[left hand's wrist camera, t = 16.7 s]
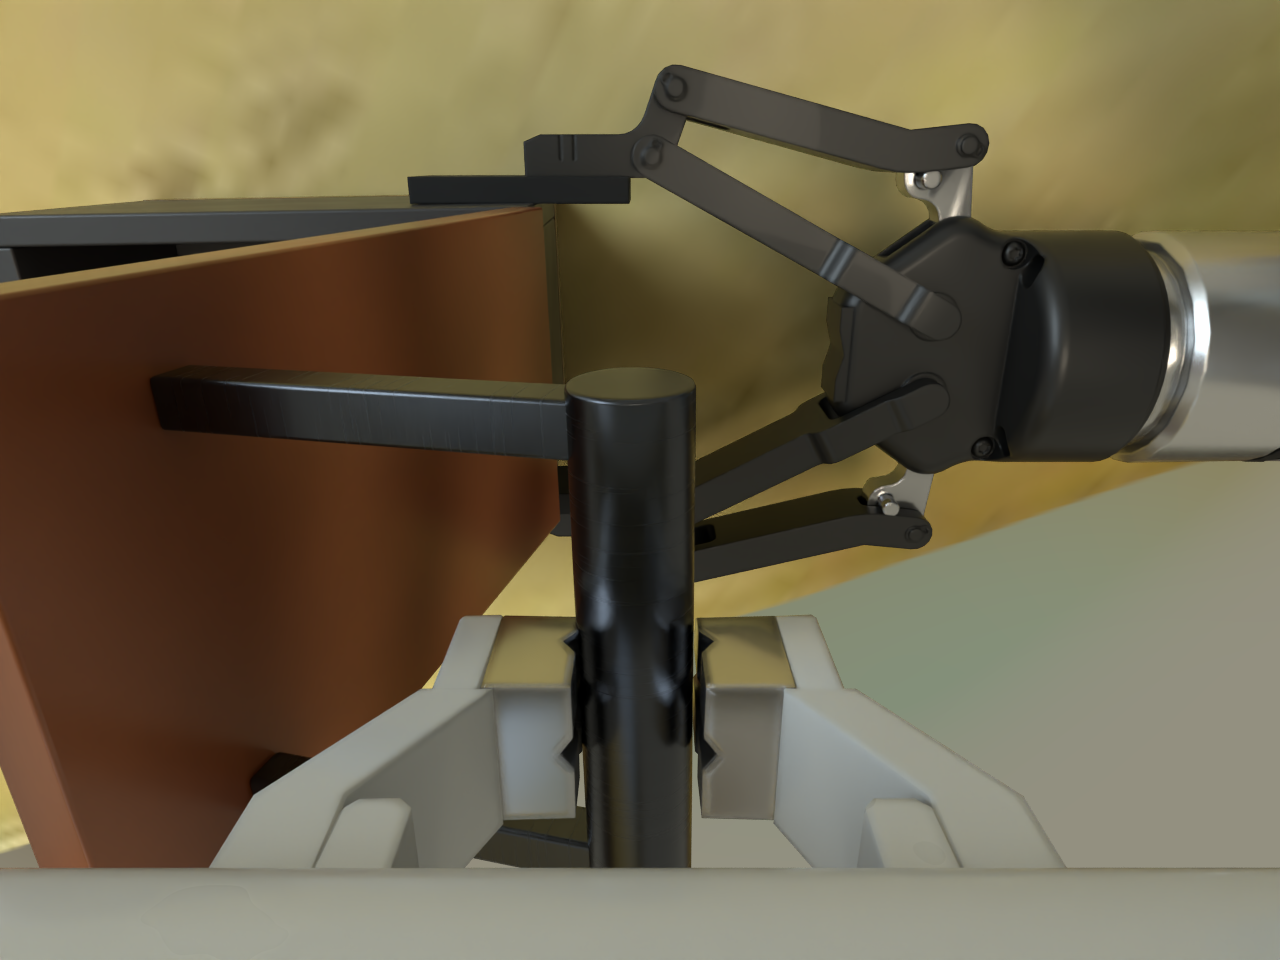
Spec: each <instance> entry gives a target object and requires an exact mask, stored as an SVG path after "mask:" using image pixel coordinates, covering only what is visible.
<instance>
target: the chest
mask: <svg viewBox="0 0 1280 960" xmlns="http://www.w3.org/2000/svg"><path fill="white" fill-rule="evenodd" d="M510 207H541V208H542V211H543V228H544V245H545V263H546V280H547V298H548V315H549V332H550V350H551V367H552V384H564V385H565V371H564V352H563V332H562V313H561V293H560V274H559V255H558V235H557V216H556V204H533V203H497V204H410V198H409V195H382V196H325V197H268V198H211V199H155V200H143V201H137V202H125V203H114V204H102V205H91V206H79V207H68V208H57V209H45V210H34V211H22V212H11V213H0V283H3V282H10V281H17V280H24V279H30V278H37V277H44V276H51V275H57V274H64V273H71V272H78V271H84V270H91V269H98V268H105V267H111V266H118V265H125V264H132V263H138V262H145V261H152V260H159V259H165V258H172V257H179V256H186V255H192V254H199V253H206V252H213V251H219V250H226V249H233V248H240V247H246V246H253V245H260V244H267V243H273V242H280V241H287V240H294V239H300V238H307V237H314V236H321V235H327V234H334V233H341V232H348V231H354V230H361V229H368V228H375V227H381V226H388V225H395V224H402V223H408V222H415V221H422V220H429V219H435V218H442V217H449V216H456V215H462V214H469V213H476V212H483V211H489V210H496V209H503V208H510ZM558 462H559V460H557V467H558Z"/></svg>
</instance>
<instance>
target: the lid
mask: <svg viewBox="0 0 1280 960" xmlns="http://www.w3.org/2000/svg"><path fill="white" fill-rule="evenodd" d="M695 438H696V385H695V383H694V381H693V380H692V379H691V378H690V377H688V376H686V375H684V374H681V373H678V372H674V371H670V370H665V369H658V368H646V367H622V368H610V369H602V370H596V371H591V372H587V373H584V374H581V375H578V376H576V377H574V378H572V379H570V380H569V381H568V382H567V383H566V385H564V384H552V367H551V350H550V332H549V315H548V298H547V280H546V263H545V245H544V228H543V211H542V208H541V207H510V208H503V209H496V210H489V211H483V212H476V213H469V214H462V215H456V216H449V217H442V218H435V219H429V220H422V221H415V222H408V223H402V224H395V225H388V226H381V227H375V228H368V229H361V230H354V231H348V232H341V233H334V234H327V235H321V236H314V237H307V238H300V239H294V240H287V241H280V242H273V243H267V244H260V245H253V246H246V247H240V248H233V249H226V250H219V251H213V252H206V253H199V254H192V255H186V256H179V257H172V258H165V259H159V260H152V261H145V262H138V263H132V264H125V265H118V266H111V267H105V268H98V269H91V270H84V271H78V272H71V273H64V274H57V275H51V276H44V277H37V278H30V279H24V280H17V281H10V282H3V283H0V767H1V770H2V772H3V775H4V778H5V780H6V783H7V785H8V788H9V790H10V793H11V796H12V798H13V801H14V803H15V806H16V808H17V811H18V814H19V816H20V819H21V821H22V824H23V826H24V829H25V832H26V834H27V837H28V839H29V842H30V844H31V847H32V850H33V852H34V855H35V857H36V860H37V863H38V865H39V868H209V867H210V865H211V863H212V862H213V860H214V858H215V857H216V855H217V854H218V852H219V850H220V849H221V847H222V845H223V844H224V842H225V841H226V839H227V837H228V836H229V834H230V833H231V831H232V829H233V828H234V826H235V824H236V823H237V821H238V820H239V818H240V816H241V815H242V813H243V811H244V810H245V808H246V807H247V805H248V803H249V802H250V800H251V798H252V797H253V795H254V794H256V793H258V792H259V791H261V790H262V789H264V788H266V787H267V786H269V785H270V784H272V783H273V782H275V781H277V780H278V779H280V778H281V777H283V776H284V775H286V774H288V773H289V772H291V771H292V770H294V769H295V768H297V767H299V766H300V765H302V764H303V763H305V762H306V761H308V760H310V759H311V758H313V757H314V756H316V755H317V754H319V753H321V752H322V751H324V750H325V749H327V748H328V747H330V746H332V745H333V744H335V743H336V742H338V741H340V740H341V739H343V738H344V737H346V736H347V735H349V734H351V733H352V732H354V731H355V730H357V729H358V728H360V727H362V726H363V725H365V724H366V723H368V722H369V721H371V720H373V719H374V718H376V717H377V716H379V715H380V714H382V713H384V712H385V711H387V710H388V709H390V708H391V707H393V706H395V705H396V704H398V703H399V702H401V701H402V700H404V699H406V698H407V697H409V696H410V695H412V694H413V693H415V692H417V691H418V690H420V689H421V688H422V687H423V686H424V685H425V684H426V682H427V681H428V680H429V679H430V678H431V676H432V675H433V674H434V673H435V672H436V670H437V669H438V668H439V667H440V665H441V664H442V663H443V661H444V658H445V656H446V653H447V651H448V648H449V646H450V643H451V641H452V638H453V636H454V633H455V631H456V628H457V626H458V623H459V621H460V619H461V618H462V617H464V616H473V615H483V613H484V612H485V611H486V610H487V609H488V607H489V606H490V605H491V604H492V603H493V601H494V600H495V599H496V598H497V597H498V595H499V594H500V593H501V592H502V590H503V589H504V588H505V587H506V586H507V584H508V583H509V582H510V581H511V580H512V578H513V577H514V576H515V575H516V574H517V572H518V571H519V570H520V569H521V568H522V566H523V565H524V564H525V563H526V561H527V560H528V559H529V558H530V557H531V555H532V554H533V553H534V552H535V551H536V549H537V548H538V547H539V546H540V545H541V543H542V542H543V541H544V540H545V538H546V537H547V536H548V535H549V534H550V532H551V531H552V530H553V529H554V528H555V526H556V525H557V524H558V523H559V522H560V506H559V489H558V472H557V460H566V461H568V479H569V498H570V517H571V536H572V556H573V575H574V594H575V613H576V624H577V627H578V629H579V652H580V674H581V675H580V679H579V690H580V699H581V704H582V734H583V766H584V785H585V804H586V808H585V807H579V806H577V807H576V816H575V818H557V819H522V820H503V825H502V826H501V827H500V828H499V829H498V831H497V832H496V833H495V834H494V835H493V836H492V837H491V838H490V840H489V841H488V842H487V843H486V844H485V845H484V846H483V847H482V849H481V850H480V851H479V852H478V853H477V854H476V855H475V857H474V858H475V859H480V860H485V861H490V862H495V863H500V864H505V865H510V866H515V867H519V868H691V824H692V728H693V632H694V535H695Z"/></svg>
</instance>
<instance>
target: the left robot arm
mask: <svg viewBox="0 0 1280 960" xmlns="http://www.w3.org/2000/svg"><path fill="white" fill-rule="evenodd" d="M694 652H695V663H696V674H695V676H694V677H693V730H694V744H695V752H696V753H697V754H698V787H699V796H700V806H701V815H702V818H718V819H755V820H774V824H775V825H776V827H777V828H778V829H779V830H780V831H781V832H782V833H783V835H784V836H785V837H786V838H787V839H788V840H789V841H790V842H791V844H792V845H793V846H794V847H795V848H796V849H797V851H798V852H799V853H800V854H801V855H802V856H803V857H804V859H805V860H806V861H807V862H808V863H809V864H810V865H811V867H812V868H465V867H466V866H467V864H468V863H469V862H470V861H471V860H472V859H473V858H474V857H475V855H476V854H477V853H478V852H479V851H480V850H481V849H482V847H483V846H484V845H485V844H486V843H487V842H488V841H489V840H490V838H491V837H492V836H493V835H494V834H495V833H496V832H497V831H498V829H499V828H500V827H501V826H502V825H503V820H522V819H557V818H575V816H576V807H577V797H578V788H579V778H580V772H579V754H580V753H581V752H582V747H583V734H582V704H581V699H580V690H579V679H580V675H581V674H580V652H579V629H578V627H577V624H576V617H550V616H504V617H503V616H502V615H473V616H464V617H462V618H461V619H460V621H459V623H458V626H457V628H456V631H455V633H454V636H453V638H452V641H451V643H450V646H449V648H448V651H447V653H446V656H445V658H444V661H443V663H442V666H441V668H440V671H439V673H438V676H437V678H436V681H435V683H434V686H433V688H432V689H420V690H418V691H417V692H415V693H413V694H412V695H410V696H409V697H407V698H406V699H404V700H402V701H401V702H399V703H398V704H396V705H395V706H393V707H391V708H390V709H388V710H387V711H385V712H384V713H382V714H380V715H379V716H377V717H376V718H374V719H373V720H371V721H369V722H368V723H366V724H365V725H363V726H362V727H360V728H358V729H357V730H355V731H354V732H352V733H351V734H349V735H347V736H346V737H344V738H343V739H341V740H340V741H338V742H336V743H335V744H333V745H332V746H330V747H328V748H327V749H325V750H324V751H322V752H321V753H319V754H317V755H316V756H314V757H313V758H311V759H310V760H308V761H306V762H305V763H303V764H302V765H300V766H299V767H297V768H295V769H294V770H292V771H291V772H289V773H288V774H286V775H284V776H283V777H281V778H280V779H278V780H277V781H275V782H273V783H272V784H270V785H269V786H267V787H266V788H264V789H262V790H261V791H259V792H258V793H256V794H254V795H253V797H252V798H251V800H250V802H249V803H248V805H247V807H246V808H245V810H244V811H243V813H242V815H241V816H240V818H239V820H238V821H237V823H236V824H235V826H234V828H233V829H232V831H231V833H230V834H229V836H228V837H227V839H226V841H225V842H224V844H223V845H222V847H221V849H220V850H219V852H218V854H217V855H216V857H215V858H214V860H213V862H212V863H211V865H210V867H209V868H0V960H1280V868H1067V867H1066V866H1065V864H1064V862H1063V861H1062V859H1061V858H1060V856H1059V854H1058V853H1057V851H1056V849H1055V848H1054V846H1053V844H1052V843H1051V841H1050V839H1049V838H1048V836H1047V834H1046V833H1045V831H1044V829H1043V828H1042V826H1041V824H1040V823H1039V821H1038V819H1037V818H1036V816H1035V814H1034V813H1033V811H1032V810H1031V808H1030V806H1029V805H1028V803H1027V801H1026V800H1025V798H1024V796H1022V795H1021V794H1019V793H1018V792H1016V791H1015V790H1013V789H1011V788H1010V787H1008V786H1007V785H1005V784H1004V783H1002V782H1000V781H999V780H997V779H996V778H994V777H993V776H991V775H990V774H988V773H986V772H985V771H983V770H982V769H980V768H979V767H977V766H976V765H974V764H972V763H971V762H969V761H968V760H966V759H965V758H963V757H961V756H960V755H958V754H957V753H955V752H954V751H952V750H950V749H949V748H947V747H946V746H944V745H943V744H941V743H940V742H938V741H936V740H935V739H933V738H932V737H930V736H929V735H927V734H926V733H924V732H922V731H921V730H919V729H918V728H916V727H915V726H913V725H912V724H910V723H908V722H907V721H905V720H904V719H902V718H901V717H899V716H897V715H896V714H894V713H893V712H891V711H890V710H888V709H887V708H885V707H883V706H882V705H880V704H879V703H877V702H876V701H874V700H872V699H871V698H869V697H868V696H866V695H865V694H863V693H862V692H860V691H858V690H857V689H844V687H843V684H842V682H841V679H840V677H839V674H838V671H837V669H836V666H835V664H834V661H833V659H832V656H831V654H830V651H829V649H828V646H827V644H826V641H825V639H824V636H823V634H822V631H821V629H820V626H819V624H818V621H817V619H816V617H814V616H813V615H792V616H754V617H714V618H696V620H695V634H694Z"/></svg>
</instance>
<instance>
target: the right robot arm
mask: <svg viewBox="0 0 1280 960" xmlns="http://www.w3.org/2000/svg"><path fill="white" fill-rule="evenodd" d="M686 120H687V121H690V122H694V123H698V124H701V125H705V126H709V127H712V128H716V129H719V130H723V131H727V132H730V133H734V134H738V135H741V136H745V137H748V138H752V139H756V140H759V141H763V142H767V143H770V144H774V145H777V146H781V147H785V148H788V149H792V150H796V151H799V152H803V153H806V154H810V155H814V156H817V157H821V158H825V159H828V160H832V161H835V162H839V163H843V164H846V165H850V166H854V167H857V168H861V169H866V170H871V171H880V172H896V186H897V188H898V190H899V192H900V193H901V194H902V195H904V196H906V197H909V198H914V199H918V200H920V201H922V202H923V203H924V204H925V205H926V207H927V209H928V211H929V219H928V220H926V221H925V222H923V223H922V224H920V225H919V226H917V227H916V228H915V229H913V230H912V231H910V232H909V233H907V234H906V235H904V236H903V237H902V238H900V239H899V240H897V241H896V242H894V243H893V244H892V245H890V246H889V247H887V248H886V249H884V250H883V251H881V252H880V253H879V254H877V255H876V256H874V257H871V256H869V255H868V254H866V253H864V252H862V251H861V250H859V249H857V248H855V247H854V246H852V245H850V244H848V243H846V242H844V241H842V240H840V239H839V238H837V237H835V236H833V235H832V234H830V233H828V232H826V231H825V230H823V229H821V228H819V227H818V226H816V225H814V224H813V223H811V222H809V221H807V220H806V219H804V218H802V217H800V216H799V215H797V214H795V213H793V212H792V211H790V210H788V209H786V208H785V207H783V206H781V205H780V204H778V203H776V202H774V201H773V200H771V199H769V198H767V197H766V196H764V195H762V194H760V193H759V192H757V191H755V190H753V189H752V188H750V187H748V186H747V185H745V184H743V183H741V182H740V181H738V180H736V179H734V178H733V177H731V176H729V175H727V174H726V173H724V172H722V171H720V170H719V169H717V168H715V167H713V166H712V165H710V164H708V163H707V162H705V161H703V160H701V159H700V158H698V157H696V156H694V155H693V154H691V153H689V152H687V151H686V150H684V149H682V148H680V147H679V146H677V145H678V142H679V139H680V136H681V133H682V130H683V127H684V125H685V122H686ZM988 146H989V139H988V134H987V133H986V131H985V129H984V128H983V127H981V126H979V125H978V124H971V123H967V124H959V125H950V126H941V127H932V128H923V129H914V130H909V129H906V128H902V127H899V126H895V125H892V124H888V123H885V122H881V121H877V120H874V119H870V118H867V117H863V116H860V115H856V114H853V113H849V112H845V111H842V110H838V109H835V108H831V107H828V106H824V105H821V104H817V103H814V102H810V101H806V100H803V99H799V98H796V97H792V96H789V95H785V94H782V93H778V92H774V91H771V90H767V89H764V88H760V87H757V86H753V85H750V84H746V83H743V82H739V81H735V80H732V79H728V78H725V77H721V76H718V75H714V74H711V73H707V72H704V71H700V70H696V69H693V68H689V67H686V66H682V65H670V66H668V67H665V68H664V69H663V70H662V71H661V72H660V73H659V74H658V76H657V79H656V81H655V84H654V87H653V90H652V93H651V96H650V99H649V102H648V105H647V108H646V111H645V114H644V116H643V119H642V121H641V122H640V123H639V125H638V126H637V127H636V128H635V129H633V130H632V131H630V132H628V133H625V134H575V135H573V134H561V135H558V134H549V135H538V136H536V137H533V138H531V139H529V140H527V141H524V160H525V175H447V176H414V177H407V178H408V188H409V198H410V204H497V203H533V204H629V203H630V200H631V179H630V178H647V179H649V180H651V181H652V182H654V183H656V184H658V185H659V186H661V187H663V188H665V189H667V190H668V191H670V192H672V193H674V194H675V195H677V196H679V197H681V198H682V199H684V200H686V201H688V202H690V203H691V204H693V205H695V206H697V207H698V208H700V209H702V210H704V211H706V212H707V213H709V214H711V215H713V216H714V217H716V218H718V219H720V220H721V221H723V222H725V223H727V224H729V225H730V226H732V227H734V228H736V229H737V230H739V231H741V232H743V233H745V234H746V235H748V236H750V237H752V238H753V239H755V240H757V241H759V242H761V243H762V244H764V245H766V246H768V247H769V248H771V249H773V250H775V251H776V252H778V253H780V254H782V255H784V256H785V257H787V258H789V259H791V260H792V261H794V262H796V263H798V264H800V265H801V266H803V267H805V268H807V269H808V270H810V271H812V272H814V273H816V274H817V275H819V276H821V277H822V278H824V279H826V280H828V281H829V282H831V283H833V284H835V285H836V286H838V288H837V289H836V291H835V293H834V296H833V297H828V307H827V325H828V331H829V336H830V346H829V349H828V352H827V355H826V358H825V360H824V363H823V368H822V380H821V387H822V388H823V390H824V391H825V392H824V393H822V394H820V395H818V396H816V397H814V398H812V399H810V400H808V401H806V402H804V403H803V404H801V405H800V406H799V407H798V408H797V409H796V411H795V412H793V413H792V414H790V415H788V416H786V417H784V418H782V419H780V420H778V421H776V422H774V423H772V424H770V425H768V426H766V427H764V428H761V429H759V430H757V431H755V432H753V433H751V434H749V435H747V436H745V437H743V438H741V439H739V440H737V441H735V442H733V443H731V444H729V445H727V446H725V447H723V448H721V449H719V450H717V451H715V452H713V453H711V454H709V455H707V456H705V457H703V458H701V459H699V460H696V461H695V535H694V582H699V581H703V580H708V579H712V578H717V577H721V576H726V575H730V574H735V573H739V572H744V571H748V570H753V569H757V568H762V567H766V566H771V565H775V564H780V563H784V562H789V561H793V560H798V559H802V558H807V557H811V556H816V555H820V554H825V553H829V552H834V551H839V550H843V549H848V548H852V547H857V546H861V545H872V546H882V547H893V548H904V549H918V548H920V547H923V546H925V545H926V544H927V543H928V542H929V540H930V538H931V536H932V528H931V525H930V523H929V522H928V521H927V520H926V518H925V517H924V511H925V507H926V503H927V499H928V495H929V491H930V487H931V483H932V479H933V475H934V474H935V473H938V472H941V471H944V470H946V469H948V468H949V467H951V466H954V465H956V464H959V463H962V462H966V461H973V460H980V461H996V462H1094V461H1101V460H1104V459H1106V458H1109V457H1111V458H1112V459H1114V460H1119V461H1123V462H1190V461H1245V462H1264V461H1280V231H1145V232H1139V233H1137V234H1135V235H1132V236H1130V235H1128V234H1126V233H1123V232H1119V231H998V230H993V229H990V228H988V227H986V226H985V225H983V224H982V223H980V222H979V221H977V220H975V219H973V218H971V202H972V179H973V166H975V165H976V164H978V163H979V162H980V161H981V160H982V159H983V158H984V156H985V155H986V153H987V151H988ZM873 445H875V446H877V447H878V448H879V449H881V450H882V451H884V452H885V453H886V454H888V455H889V456H890V457H892V458H893V459H894V460H896V461H897V462H898V465H897V467H896V468H895V469H894V470H893V471H892V472H891V473H889V474H887V475H885V476H879V477H872V478H869V479H868V480H867V481H866V484H865V485H864V487H863V488H848V489H839V490H833V491H828V492H824V493H819V494H815V495H811V496H806V497H802V498H797V499H793V500H789V501H784V502H780V503H776V504H771V505H767V506H763V507H758V508H754V509H749V510H745V511H741V512H736V513H732V514H728V515H723V516H719V517H715V518H710V519H706V518H708V517H710V516H712V515H714V514H716V513H718V512H721V511H723V510H725V509H727V508H729V507H731V506H733V505H735V504H737V503H739V502H741V501H744V500H746V499H748V498H750V497H752V496H754V495H756V494H758V493H760V492H762V491H765V490H767V489H769V488H771V487H773V486H775V485H777V484H779V483H781V482H783V481H785V480H788V479H790V478H792V477H794V476H796V475H798V474H800V473H802V472H804V471H806V470H809V469H811V468H813V467H815V466H817V465H820V464H832V463H837V462H839V461H842V460H844V459H846V458H848V457H850V456H852V455H854V454H856V453H858V452H861V451H863V450H865V449H867V448H869V447H871V446H873ZM557 472H558V489H559V506H560V522H559V523H558V524H557V525H556V526H555V528H554V529H553V530H552V531H551V532H550V534H553V535H555V536H571V517H570V498H569V479H568V466H558V467H557ZM704 519H706V520H704Z"/></svg>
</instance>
